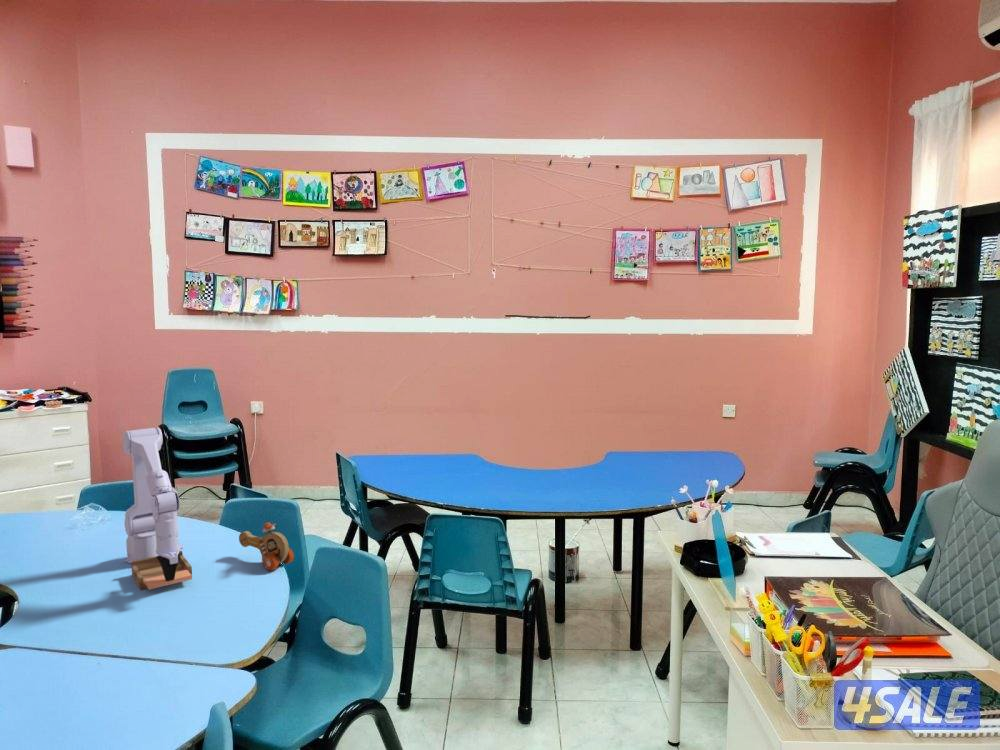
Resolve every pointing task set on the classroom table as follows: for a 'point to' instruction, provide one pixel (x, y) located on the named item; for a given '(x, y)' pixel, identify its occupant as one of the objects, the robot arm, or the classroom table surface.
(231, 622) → the classroom table surface
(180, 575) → the orange rectangular block
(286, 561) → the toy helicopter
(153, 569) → the open wooden crate
